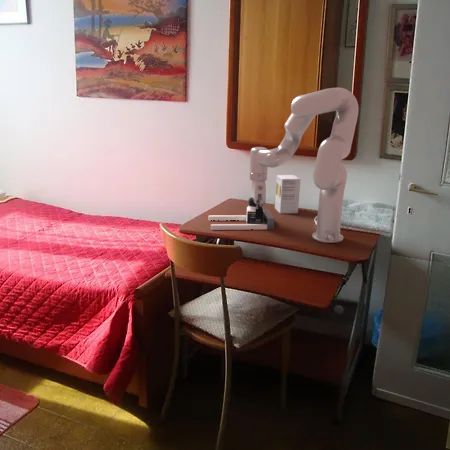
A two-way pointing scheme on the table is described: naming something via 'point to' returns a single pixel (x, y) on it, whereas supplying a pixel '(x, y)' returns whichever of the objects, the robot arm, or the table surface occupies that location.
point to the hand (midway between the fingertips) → (257, 214)
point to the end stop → (268, 219)
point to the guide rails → (233, 226)
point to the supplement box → (287, 194)
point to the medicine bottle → (253, 213)
